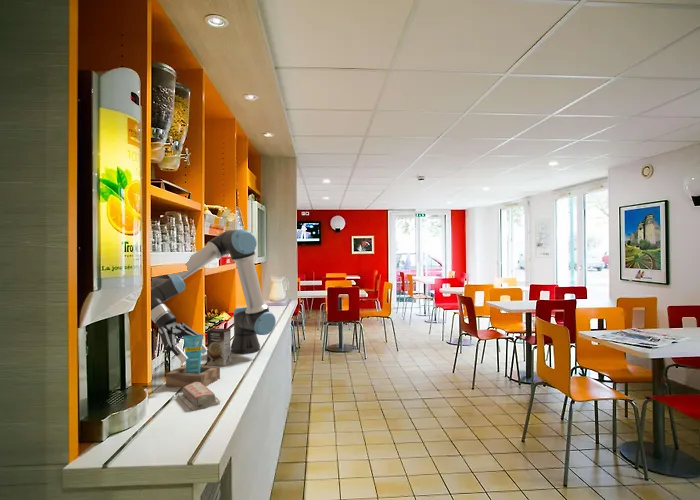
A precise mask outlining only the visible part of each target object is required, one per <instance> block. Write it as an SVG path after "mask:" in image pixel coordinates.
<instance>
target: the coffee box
mask: <svg viewBox="0 0 700 500" xmlns="http://www.w3.org/2000/svg"><path fill="white" fill-rule="evenodd" d="M231 331H232V330H231V328H216V327H215V328H210V329H208V330H206V348H207V349H208V350H207V351H206V366H217V367H225V366H226V365H229V364H230V363H231V333H232V332H231ZM228 363H229V364H228Z"/></svg>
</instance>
